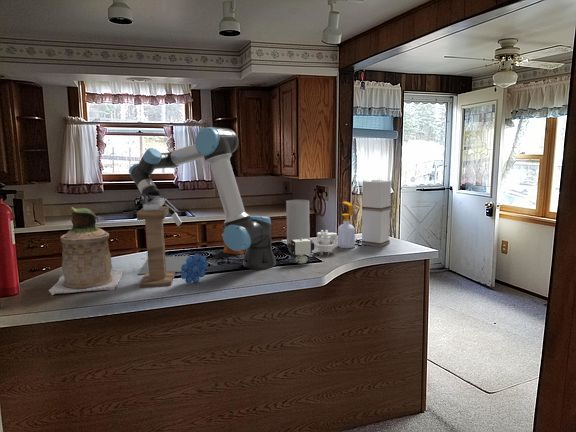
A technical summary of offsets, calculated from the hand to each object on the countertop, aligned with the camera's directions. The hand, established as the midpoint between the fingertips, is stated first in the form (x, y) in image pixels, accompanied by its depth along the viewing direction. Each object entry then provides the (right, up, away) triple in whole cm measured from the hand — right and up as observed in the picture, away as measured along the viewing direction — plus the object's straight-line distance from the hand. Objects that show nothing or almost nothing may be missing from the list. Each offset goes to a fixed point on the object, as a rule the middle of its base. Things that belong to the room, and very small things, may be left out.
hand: (169, 223), depth 191 cm
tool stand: (0, -24, -17) cm, 29 cm away
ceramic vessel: (+29, -15, +34) cm, 47 cm away
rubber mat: (-4, -20, +7) cm, 21 cm away
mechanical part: (+74, -16, +24) cm, 79 cm away
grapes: (+16, -24, -20) cm, 35 cm away
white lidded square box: (+103, -12, +43) cm, 112 cm away
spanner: (-1, +7, -15) cm, 17 cm away
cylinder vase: (+60, -14, +41) cm, 74 cm away
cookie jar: (-27, -25, -19) cm, 42 cm away
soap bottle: (+86, -14, +38) cm, 95 cm away
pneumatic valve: (+60, -19, +7) cm, 64 cm away
